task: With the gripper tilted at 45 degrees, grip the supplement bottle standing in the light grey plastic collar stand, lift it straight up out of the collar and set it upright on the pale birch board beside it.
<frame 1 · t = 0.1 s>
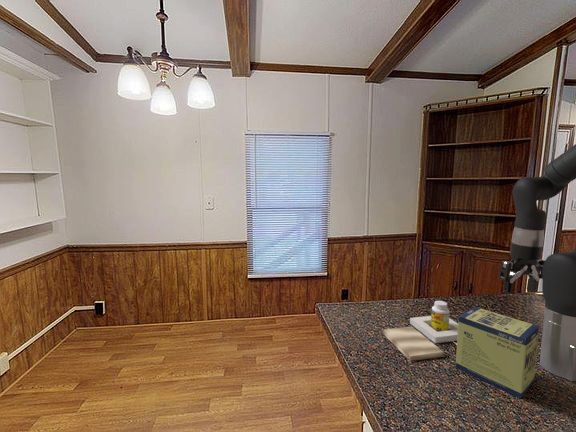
hand: (519, 292, 92), 17 cm above the worktop, tool pointing down, fingers open, 8 cm apart
supplement bottle: (439, 331, 103), resting in collar stand
collar stand: (439, 330, 103), on the worktop
birch board: (411, 344, 95), on the worktop
protein box: (493, 375, 80), on the worktop
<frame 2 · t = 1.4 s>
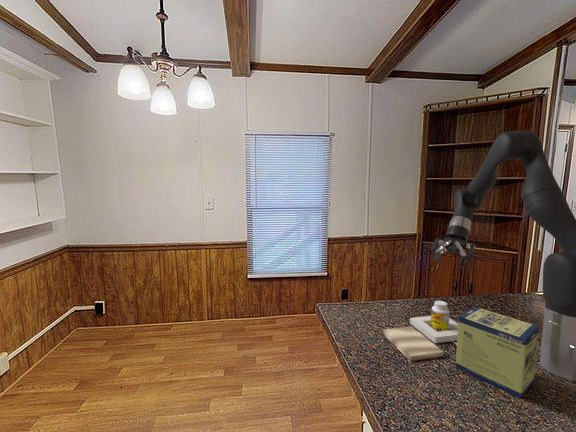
hand: (448, 264, 110), 21 cm above the worktop, tool tilted 45°, fingers open, 8 cm apart
nothing on the worktop moved.
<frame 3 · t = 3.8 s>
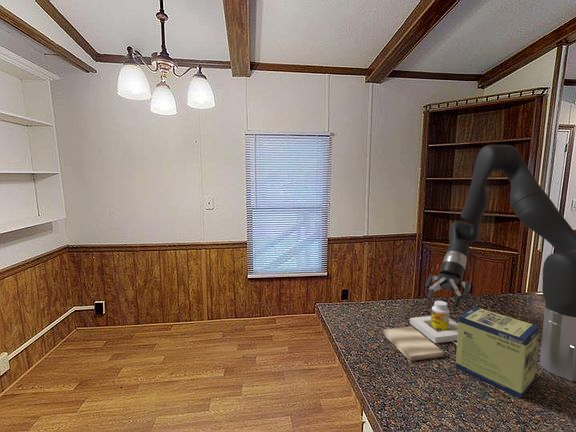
hand: (442, 303, 105), 9 cm above the worktop, tool tilted 45°, fingers open, 8 cm apart
nothing on the worktop moved.
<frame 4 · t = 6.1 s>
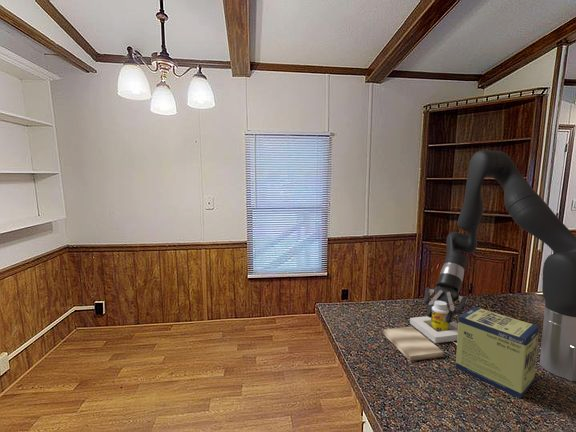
hand: (438, 319, 102), 5 cm above the worktop, tool tilted 45°, fingers closed on supplement bottle, 5 cm apart
supplement bottle: (439, 330, 103), resting in collar stand, touching gripper
everything else where it was.
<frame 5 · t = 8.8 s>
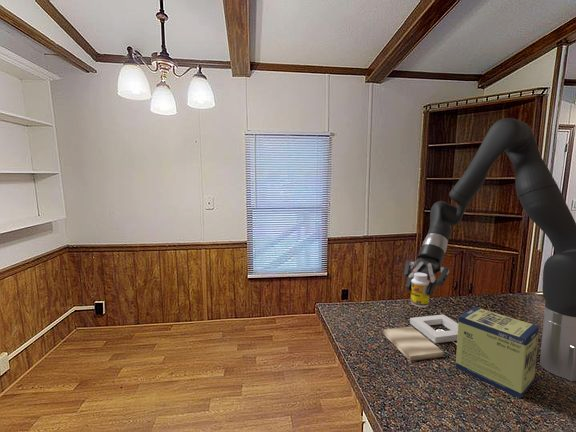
hand: (418, 291, 94), 17 cm above the worktop, tool tilted 45°, fingers closed on supplement bottle, 5 cm apart
supplement bottle: (419, 304, 96), point 12 cm above the worktop, touching gripper
everything else where it was.
when the fingers open (7 cm above the worktop, at t = 11.9 s): supplement bottle stays where it is, resting on birch board.
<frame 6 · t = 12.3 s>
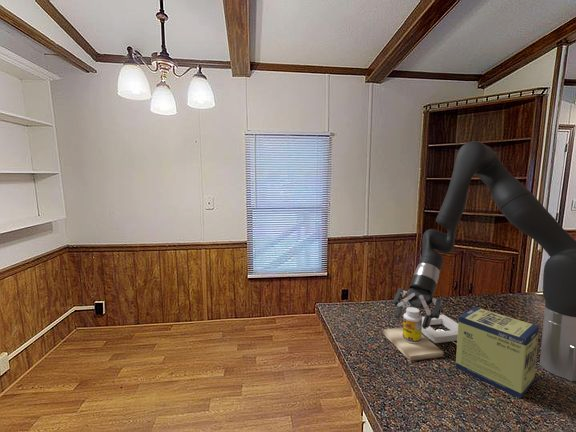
hand: (410, 323, 93), 8 cm above the worktop, tool tilted 45°, fingers open, 8 cm apart
supplement bottle: (411, 340, 95), point 1 cm above the worktop, touching birch board
everything else where it was.
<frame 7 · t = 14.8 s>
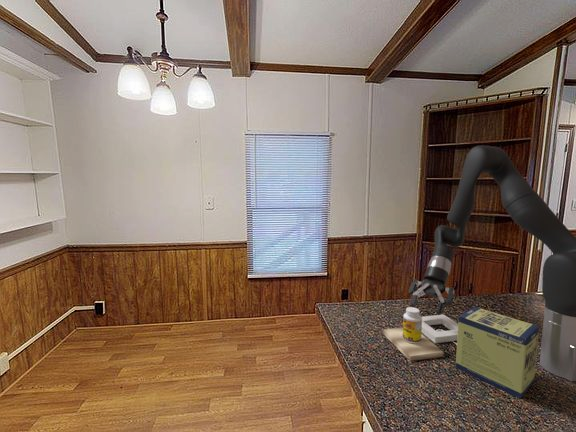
hand: (425, 310, 102), 8 cm above the worktop, tool tilted 45°, fingers open, 8 cm apart
nothing on the worktop moved.
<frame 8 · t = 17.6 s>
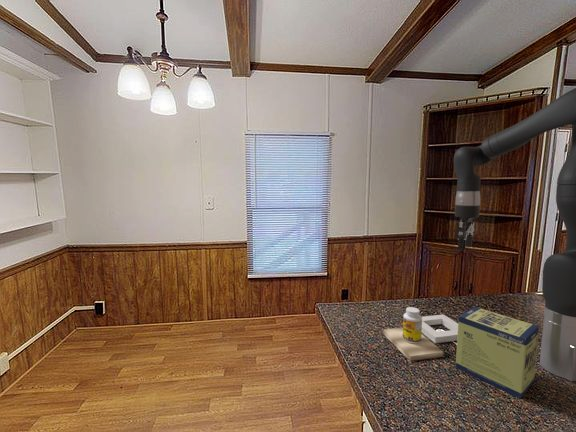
hand: (464, 248, 106), 28 cm above the worktop, tool pointing down, fingers open, 8 cm apart
nothing on the worktop moved.
at the end: supplement bottle inside the target area on the birch board (0.2 cm from its centre), point 1.3 cm above the birch board's base; supplement bottle tilted 0°; the gripper is holding nothing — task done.
